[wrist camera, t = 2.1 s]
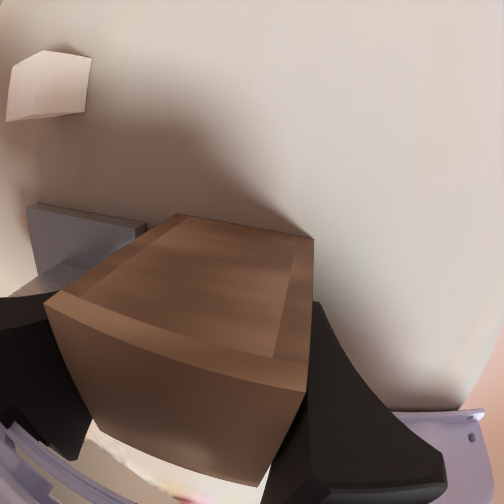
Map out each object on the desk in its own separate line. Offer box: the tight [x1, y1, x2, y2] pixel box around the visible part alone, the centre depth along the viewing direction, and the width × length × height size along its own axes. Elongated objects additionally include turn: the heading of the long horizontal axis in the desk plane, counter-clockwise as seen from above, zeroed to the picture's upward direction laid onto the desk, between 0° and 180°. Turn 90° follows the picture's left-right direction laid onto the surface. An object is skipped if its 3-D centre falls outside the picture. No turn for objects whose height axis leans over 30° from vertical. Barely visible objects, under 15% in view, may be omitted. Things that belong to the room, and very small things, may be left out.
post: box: [9, 203, 146, 297], centre depth 10 cm, size 8×8×6 cm
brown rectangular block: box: [43, 214, 314, 487], centre depth 8 cm, size 5×5×7 cm
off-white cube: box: [6, 50, 92, 122], centre depth 8 cm, size 3×3×3 cm
